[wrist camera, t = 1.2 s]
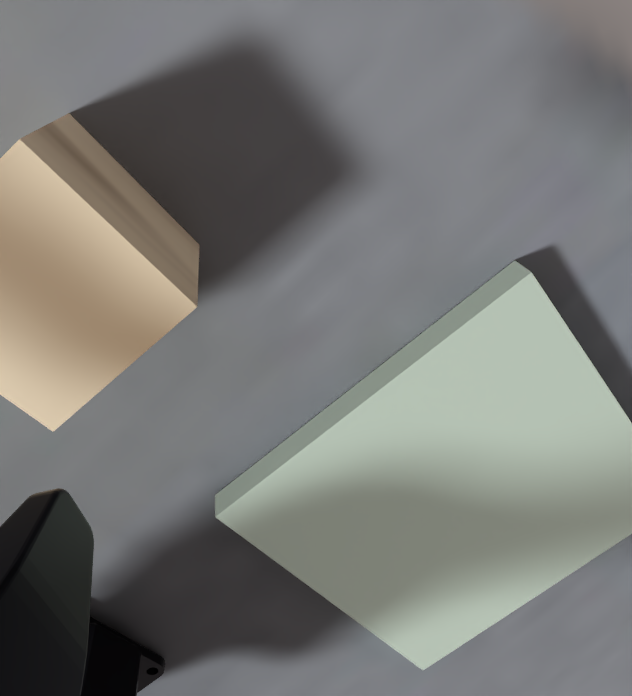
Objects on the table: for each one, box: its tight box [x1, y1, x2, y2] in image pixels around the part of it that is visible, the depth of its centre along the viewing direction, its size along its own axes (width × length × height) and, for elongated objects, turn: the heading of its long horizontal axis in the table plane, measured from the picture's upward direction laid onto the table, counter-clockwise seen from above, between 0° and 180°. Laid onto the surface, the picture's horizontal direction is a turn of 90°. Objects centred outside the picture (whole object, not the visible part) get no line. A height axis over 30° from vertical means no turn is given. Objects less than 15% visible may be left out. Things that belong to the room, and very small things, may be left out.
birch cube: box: [0, 113, 199, 431], centre depth 16 cm, size 5×5×5 cm
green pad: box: [215, 261, 632, 670], centre depth 24 cm, size 14×14×1 cm
